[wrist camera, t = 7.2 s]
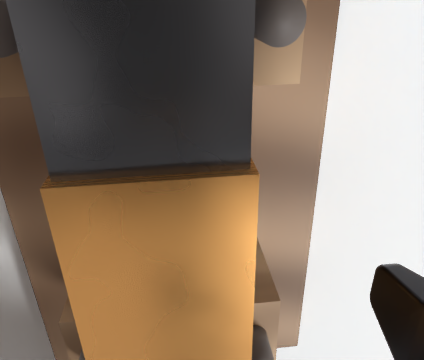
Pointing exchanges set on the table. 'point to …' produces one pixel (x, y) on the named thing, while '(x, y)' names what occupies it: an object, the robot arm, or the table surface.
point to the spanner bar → (148, 169)
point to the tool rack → (260, 153)
